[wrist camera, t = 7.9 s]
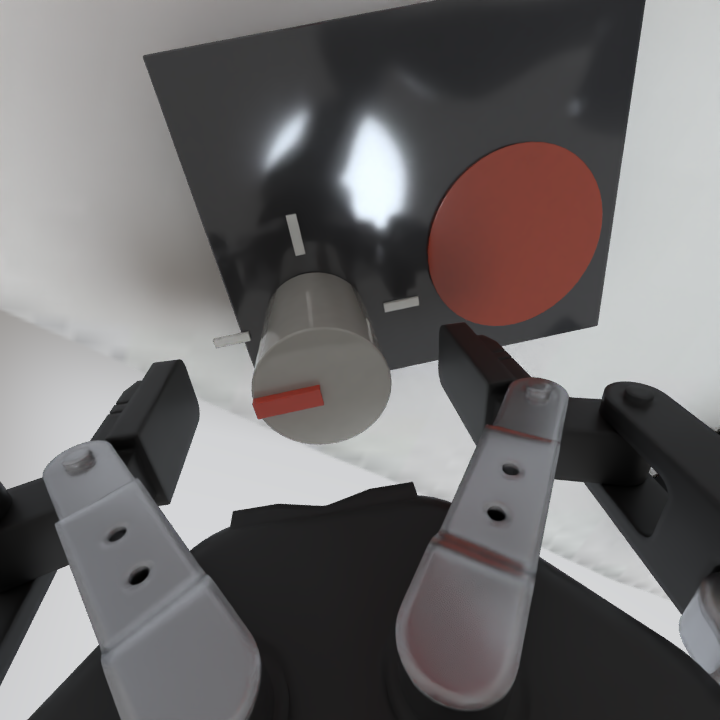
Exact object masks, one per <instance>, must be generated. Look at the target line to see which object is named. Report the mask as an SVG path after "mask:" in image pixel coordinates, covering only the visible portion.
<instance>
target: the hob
mask: <svg viewBox="0 0 720 720" xmlns="http://www.w3.org/2000/svg"><path fill="white" fill-rule="evenodd" d="M645 1H646V0H433V1H428V2H423V3H417V4H412V5H407V6H402V7H396V8H391V9H386V10H380V11H375V12H370V13H365V14H359V15H354V16H349V17H343V18H338V19H333V20H327V21H322V22H317V23H312V24H306V25H301V26H296V27H290V28H285V29H280V30H275V31H269V32H264V33H259V34H253V35H248V36H243V37H238V38H232V39H227V40H222V41H216V42H211V43H206V44H200V45H195V46H190V47H185V48H179V49H174V50H169V51H163V52H158V53H153V54H148V55H144V56H143V59H144V62H145V65H146V67H147V70H148V73H149V76H150V79H151V81H152V84H153V87H154V90H155V93H156V95H157V98H158V101H159V104H160V106H161V109H162V112H163V115H164V118H165V120H166V123H167V126H168V129H169V132H170V134H171V137H172V140H173V143H174V146H175V148H176V151H177V154H178V157H179V160H180V162H181V165H182V168H183V171H184V174H185V176H186V179H187V182H188V185H189V187H190V190H191V193H192V196H193V199H194V201H195V204H196V207H197V210H198V213H199V215H200V218H201V221H202V224H203V227H204V229H205V232H206V235H207V238H208V241H209V243H210V246H211V249H212V252H213V255H214V257H215V260H216V263H217V266H218V268H219V271H220V274H221V277H222V280H223V282H224V285H225V288H226V291H227V294H228V296H229V299H230V302H231V305H232V308H233V310H234V313H235V316H236V319H237V322H238V324H239V327H240V330H241V333H238V334H233V335H229V336H224V337H219V338H214V339H213V342H214V345H215V347H216V348H219V347H224V346H228V345H233V344H238V343H243V342H245V344H246V347H247V349H248V352H249V355H250V358H251V361H252V363H253V366H254V369H255V364H256V359H257V354H258V349H259V344H260V339H261V334H262V329H263V324H264V319H265V314H266V309H267V306H268V303H269V301H270V299H271V297H272V295H273V294H274V293H275V291H276V290H277V289H278V288H279V287H280V286H281V285H282V284H284V283H285V282H286V281H288V280H290V279H291V278H294V277H296V276H298V275H302V274H306V273H318V272H320V273H327V274H331V275H335V276H337V277H340V278H341V279H343V280H345V281H347V282H348V283H349V284H351V285H352V286H353V287H354V288H355V289H356V290H357V292H358V293H359V294H360V296H361V297H362V299H363V301H364V304H365V306H366V309H367V311H368V314H369V317H370V319H371V322H372V324H373V327H374V330H375V332H376V335H377V338H378V340H379V343H380V345H381V348H382V351H383V353H384V356H385V359H386V361H387V364H388V366H389V370H393V369H398V368H403V367H407V366H412V365H417V364H421V363H426V362H431V361H435V360H439V330H440V327H441V325H446V324H454V323H461V322H465V323H466V324H467V325H468V326H469V327H470V328H471V329H472V330H473V331H474V332H475V334H476V335H484V336H487V337H489V338H491V339H493V340H495V341H497V342H498V343H499V344H500V346H505V345H510V344H514V343H519V342H524V341H528V340H533V339H538V338H542V337H547V336H552V335H556V334H561V333H566V332H570V331H575V330H580V329H584V328H589V327H593V326H597V325H598V319H599V312H600V305H601V299H602V292H603V285H604V278H605V271H606V265H607V258H608V251H609V244H610V238H611V231H612V224H613V217H614V211H615V204H616V197H617V190H618V183H619V177H620V170H621V163H622V156H623V150H624V143H625V136H626V129H627V123H628V116H629V109H630V102H631V95H632V89H633V82H634V75H635V68H636V62H637V55H638V48H639V41H640V35H641V28H642V21H643V14H644V7H645ZM521 142H546V143H551V144H555V145H558V146H561V147H563V148H566V149H567V150H569V151H571V152H572V153H574V154H575V155H577V156H578V157H579V158H580V159H581V160H582V161H583V162H584V163H585V164H586V165H587V167H588V168H589V169H590V171H591V172H592V174H593V176H594V178H595V180H596V182H597V185H598V188H599V191H600V195H601V200H602V213H603V215H602V227H601V232H600V237H599V241H598V244H597V247H596V250H595V252H594V255H593V257H592V259H591V261H590V263H589V265H588V267H587V269H586V270H585V272H584V274H583V275H582V276H581V278H580V279H579V281H578V282H577V283H576V284H575V286H574V287H573V288H572V289H571V290H570V291H569V292H568V293H567V294H566V295H565V296H564V297H563V298H562V299H561V300H560V301H558V302H557V303H556V304H555V305H553V306H552V307H551V308H549V309H548V310H546V311H544V312H543V313H541V314H539V315H537V316H535V317H533V318H531V319H528V320H526V321H523V322H519V323H515V324H511V325H504V326H489V325H481V324H477V323H473V322H471V321H468V320H466V319H464V318H462V317H460V316H459V315H457V314H456V313H454V312H453V311H452V310H451V309H449V307H448V306H447V305H446V304H445V303H444V302H443V301H442V300H441V298H440V297H439V295H438V294H437V292H436V290H435V288H434V286H433V284H432V281H431V278H430V274H429V270H428V263H427V243H428V236H429V231H430V227H431V223H432V221H433V218H434V215H435V212H436V210H437V208H438V206H439V204H440V202H441V200H442V199H443V197H444V195H445V194H446V192H447V191H448V189H449V188H450V187H451V185H452V184H453V183H454V182H455V180H456V179H457V178H458V177H459V176H460V175H461V174H462V173H463V172H464V171H465V170H466V169H467V168H468V167H469V166H471V165H472V164H473V163H475V162H476V161H477V160H479V159H480V158H482V157H483V156H485V155H487V154H489V153H490V152H492V151H495V150H497V149H499V148H502V147H504V146H508V145H511V144H515V143H521Z"/></svg>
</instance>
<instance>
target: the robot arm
mask: <svg viewBox="0 0 720 720" xmlns="http://www.w3.org/2000/svg"><path fill="white" fill-rule="evenodd" d="M438 370H439V378H440V382H441V385H442V387H443V389H444V390H445V392H446V394H447V396H448V397H449V399H450V401H451V403H452V404H453V406H454V408H455V409H456V411H457V413H458V415H459V416H460V418H461V420H462V422H463V423H464V425H465V427H466V429H467V430H468V432H469V434H470V435H471V437H472V439H473V441H474V442H475V444H476V449H475V451H474V453H473V456H472V458H471V460H470V462H469V465H468V467H467V469H466V472H465V474H464V476H463V478H462V481H461V483H460V485H459V488H458V490H457V492H456V494H455V497H454V499H453V501H452V503H451V502H448V501H445V500H442V499H438V498H434V497H428V496H419V495H417V493H416V490H415V487H414V484H413V482H409V483H403V484H397V485H391V486H385V487H379V488H372V489H368V490H366V491H363V492H361V493H358V494H355V495H353V496H350V497H348V498H345V499H343V500H340V501H337V502H335V503H332V504H330V505H326V506H311V505H291V504H290V505H289V504H274V505H268V506H262V507H257V508H251V509H244V510H238V511H233V515H232V520H231V525H230V527H228V528H226V529H224V530H221V531H219V532H218V533H215V534H214V535H212V536H210V537H209V538H207V539H205V540H204V541H202V542H201V543H199V544H198V545H197V546H195V547H194V548H193V549H192V550H190V551H189V549H188V548H187V547H186V545H185V544H184V542H183V541H182V540H181V538H180V537H179V535H178V534H177V532H176V531H175V530H174V528H173V527H172V525H171V524H170V523H169V521H168V520H167V518H166V517H165V515H164V514H163V512H162V511H161V510H160V508H159V507H158V506H161V505H168V504H170V502H171V499H172V496H173V493H174V491H175V488H176V485H177V482H178V479H179V476H180V473H181V471H182V468H183V465H184V462H185V459H186V456H187V453H188V450H189V448H190V444H191V442H192V439H193V436H194V433H195V430H196V428H197V425H198V422H199V405H198V401H197V398H196V395H195V392H194V389H193V386H192V383H191V381H190V378H189V375H188V372H187V369H186V366H185V364H184V363H183V361H182V360H180V359H179V360H171V361H164V362H156V363H153V364H152V366H151V367H150V369H149V370H148V372H147V373H146V375H145V377H144V378H143V380H142V381H137V382H136V383H134V384H133V385H132V386H131V387H129V388H128V389H127V390H125V391H124V392H123V394H122V395H121V397H120V398H119V399H118V401H117V403H116V405H114V407H113V408H112V410H111V411H110V414H109V415H108V416H107V417H106V419H105V420H104V421H103V423H102V425H101V426H100V427H99V429H98V430H97V432H96V433H95V435H94V436H93V438H92V439H91V440H90V441H89V442H85V443H82V444H79V445H76V446H74V447H72V448H69V449H68V450H66V451H64V452H62V453H61V454H59V455H58V456H57V457H55V458H54V459H53V460H52V461H51V462H50V463H49V464H48V465H47V466H46V468H45V470H44V472H43V477H42V478H40V479H37V480H34V481H31V482H28V483H25V484H22V485H19V486H16V487H13V488H10V489H7V490H6V489H5V487H4V486H3V485H2V483H1V482H0V685H1V683H2V681H3V679H4V677H5V675H6V673H7V671H8V669H9V667H10V665H11V663H12V661H13V659H14V657H15V655H16V653H17V651H18V649H19V647H20V645H21V643H22V641H23V639H24V637H25V635H26V633H27V631H28V628H29V627H30V625H31V622H32V620H33V618H34V616H35V614H36V612H37V610H38V608H39V606H40V604H41V602H42V600H43V598H44V596H45V594H46V592H47V590H48V588H49V586H50V584H51V582H52V580H53V578H54V576H55V574H56V572H57V570H58V569H60V568H62V567H65V566H67V565H70V568H71V571H72V573H73V576H74V578H75V581H76V584H77V587H78V589H79V592H80V595H81V597H82V600H83V603H84V605H85V608H86V611H87V613H88V616H89V619H90V621H91V624H92V627H93V630H94V632H95V635H96V637H97V640H98V643H99V645H98V646H97V648H95V650H94V651H93V652H92V653H91V654H90V655H89V656H88V657H87V658H86V659H85V660H84V661H83V662H82V663H81V664H80V665H79V666H78V667H77V668H76V670H74V672H73V673H72V674H71V675H70V676H69V677H68V678H67V679H66V680H65V681H64V682H63V683H62V684H61V685H60V686H59V687H58V688H57V689H56V690H55V691H54V693H53V694H52V695H51V696H50V697H49V698H48V699H47V700H46V701H45V702H44V703H43V704H42V705H41V706H40V707H39V708H38V709H37V710H36V711H35V713H33V714H32V716H31V717H30V718H29V719H28V720H720V435H719V434H717V433H716V432H715V431H713V430H712V429H711V428H710V427H708V426H707V425H706V424H704V423H703V422H702V421H700V420H699V419H698V418H696V417H695V416H694V415H693V414H691V413H690V412H689V411H687V410H686V409H685V408H683V407H682V406H681V405H679V404H678V403H677V402H676V401H674V400H673V399H672V398H670V397H669V396H668V395H666V394H665V393H663V392H662V391H660V390H658V389H656V388H654V387H651V386H648V385H645V384H641V383H636V382H616V383H612V384H610V385H608V386H607V387H606V388H605V390H604V393H603V397H602V399H587V398H572V397H569V395H568V393H567V391H566V390H565V389H564V388H563V387H562V386H560V385H559V384H557V383H555V382H552V381H550V380H546V379H542V378H534V377H531V376H530V375H529V374H528V373H527V372H526V371H525V370H524V369H523V368H522V367H521V366H520V365H519V364H518V363H517V362H516V361H515V360H514V359H513V358H511V356H510V355H509V354H508V353H507V352H506V351H504V349H503V348H502V347H501V346H500V344H499V343H498V342H497V341H495V340H493V339H491V338H489V337H487V336H484V335H476V334H475V332H474V331H473V330H472V329H471V328H470V327H469V326H468V325H467V324H466V323H465V322H461V323H454V324H446V325H441V327H440V330H439V362H438ZM651 467H652V468H653V469H654V470H655V471H656V472H657V473H658V474H659V475H660V476H661V477H662V479H663V480H664V482H665V484H666V487H667V490H668V493H667V492H666V491H665V490H664V488H663V487H662V486H661V485H660V484H659V483H658V482H657V481H656V480H655V479H654V478H653V477H652V476H651V475H650V474H649V471H650V468H651ZM554 479H557V480H568V481H578V482H584V483H585V485H586V486H587V487H588V489H589V490H590V491H591V493H592V494H593V495H594V497H595V498H596V499H597V501H598V502H599V504H600V505H601V506H602V508H603V509H604V510H605V512H606V513H607V514H608V516H609V517H610V518H611V520H612V521H613V522H614V524H615V525H616V526H617V528H618V529H619V531H620V532H621V533H622V535H623V536H624V537H625V539H626V540H627V541H628V543H629V544H630V545H631V547H632V548H633V549H634V551H635V552H636V553H637V555H638V556H639V558H640V559H641V560H642V562H643V563H644V564H645V566H646V567H647V568H648V570H649V571H650V572H651V574H652V575H653V576H654V578H655V579H656V581H657V582H658V583H659V585H660V586H661V587H662V589H663V590H664V591H665V593H666V594H667V595H668V597H669V598H670V599H671V601H672V602H673V603H674V605H675V606H676V607H677V609H678V610H679V612H680V613H681V614H682V616H681V618H680V621H679V631H680V636H681V639H682V641H683V644H684V645H685V647H686V649H687V651H688V653H689V655H690V656H691V657H690V656H689V655H687V654H686V653H685V652H684V651H682V650H681V649H679V648H678V647H677V646H675V645H674V644H672V643H671V642H670V641H668V640H666V639H665V638H664V637H662V636H660V635H659V634H658V633H656V632H654V631H653V630H651V629H649V628H648V627H647V626H645V625H644V624H642V623H641V622H639V621H637V620H636V619H634V618H633V617H631V616H630V615H628V614H627V613H625V612H624V611H622V610H620V609H619V608H617V607H616V606H614V605H613V604H611V603H610V602H608V601H607V600H605V599H603V598H602V597H600V596H599V595H597V594H596V593H594V592H593V591H591V590H590V589H588V588H587V587H585V586H584V585H582V584H580V583H579V582H577V581H576V580H574V579H573V578H571V577H570V576H568V575H566V574H565V573H564V572H562V571H560V570H559V569H557V568H556V567H554V566H553V565H551V564H550V563H548V562H546V561H545V560H543V559H542V558H540V557H539V555H540V550H541V545H542V539H543V534H544V529H545V524H546V519H547V513H548V508H549V503H550V498H551V492H552V487H553V482H554Z"/></svg>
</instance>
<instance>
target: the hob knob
mask: <svg viewBox="0 0 720 720" xmlns="http://www.w3.org/2000/svg"><path fill="white" fill-rule="evenodd" d="M390 393H391V374H390V370H389V366H388V364H387V361H386V359H385V356H384V353H383V351H382V348H381V345H380V343H379V340H378V338H377V335H376V332H375V330H374V327H373V324H372V322H371V319H370V317H369V314H368V311H367V309H366V306H365V304H364V301H363V299H362V297H361V296H360V294H359V293H358V292H357V290H356V289H355V288H354V287H353V286H352V285H351V284H349V283H348V282H347V281H345V280H343V279H341V278H340V277H337V276H335V275H331V274H327V273H320V272H318V273H306V274H302V275H298V276H296V277H294V278H291V279H290V280H288V281H286V282H285V283H284V284H282V285H281V286H280V287H279V288H278V289H277V290H276V291H275V293H274V294H273V295H272V297H271V299H270V301H269V303H268V306H267V309H266V314H265V319H264V324H263V329H262V334H261V339H260V344H259V349H258V354H257V359H256V364H255V369H254V373H253V379H252V397H253V403H252V405H253V408H254V410H255V413H256V416H257V418H258V419H263V420H264V421H265V422H266V423H267V425H268V426H270V427H271V428H272V429H273V430H274V431H276V432H277V433H279V434H280V435H282V436H284V437H286V438H289V439H291V440H294V441H297V442H301V443H307V444H319V445H321V444H331V443H337V442H341V441H345V440H347V439H350V438H352V437H354V436H356V435H358V434H360V433H362V432H363V431H365V430H366V429H367V428H369V427H370V426H371V425H372V424H373V423H374V422H375V421H376V420H377V419H378V418H379V417H380V415H381V414H382V412H383V411H384V409H385V407H386V405H387V402H388V400H389V397H390Z"/></svg>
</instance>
